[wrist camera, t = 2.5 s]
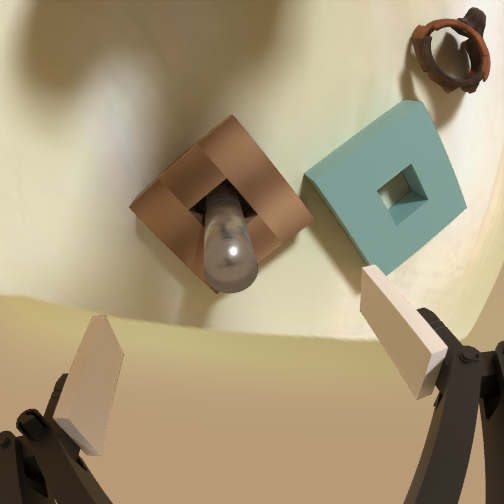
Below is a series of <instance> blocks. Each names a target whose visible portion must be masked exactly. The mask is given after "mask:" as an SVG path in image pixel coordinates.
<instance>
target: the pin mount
mask: <svg viewBox="0 0 504 504" xmlns="http://www.w3.org/2000/svg"><path fill="white" fill-rule="evenodd" d="M226 178H227V179H228V180H229V181H230V182H231V183H232V184H233V186H234V187H235V188H236V189H237V190H238V191H239V193H240V194H241V195H242V196H243V197H244V198H245V200H246V201H247V202H248V203H249V204H250V206H249V207H248V208H247V209H245V210H244V211H243V216H244V219H245V222H246V226H247V229H248V233H249V236H250V239H251V243H252V246H253V250H254V253H255V257H256V260H257V263H258V262H260V261H261V260H262V259H264V258H265V257H266V256H268V255H269V254H270V253H272V252H273V251H274V250H276V249H277V248H278V247H280V246H281V245H282V244H284V243H285V242H286V241H288V240H289V239H290V238H291V237H293V236H294V235H295V234H297V233H298V232H299V231H301V230H302V229H303V228H305V227H306V226H307V225H309V224H310V223H311V222H312V221H314V220H315V219H314V217H313V216H312V214H311V213H310V212H309V210H308V209H307V208H306V206H305V205H304V204H303V202H302V201H301V200H300V198H299V197H298V196H297V194H296V193H295V192H294V191H293V189H292V188H291V187H290V185H289V184H288V183H287V181H286V180H285V179H284V178H283V176H282V175H281V174H280V172H279V171H278V170H277V169H276V167H275V166H274V165H273V163H272V162H271V161H270V160H269V158H268V157H267V156H266V155H265V153H264V152H263V151H262V150H261V148H260V147H259V146H258V145H257V143H256V142H255V141H254V140H253V139H252V137H251V136H250V135H249V134H248V132H247V131H246V130H245V129H244V128H243V126H242V125H241V124H240V123H239V122H238V120H237V119H236V118H235V117H234V116H233V115H230V116H229V117H228V118H226V119H225V120H224V121H222V122H221V123H220V124H219V125H217V126H216V127H215V128H214V129H213V130H211V131H210V132H209V133H208V134H206V135H205V136H204V137H203V138H202V139H200V140H199V141H198V142H197V143H196V144H194V145H193V146H192V147H191V148H190V149H189V150H187V151H186V152H185V153H184V154H183V155H182V156H181V157H179V158H178V159H177V160H176V161H175V162H174V163H173V164H171V165H170V166H169V167H168V168H167V169H166V170H165V171H164V172H163V173H161V174H160V175H159V176H158V177H157V178H156V179H155V180H154V181H153V182H152V183H151V184H150V185H148V186H147V187H146V188H145V189H144V190H143V191H142V192H141V193H140V194H139V195H138V196H137V197H136V198H135V200H134V201H133V203H132V204H131V205H130V207H129V208H130V209H131V210H132V211H133V212H134V213H135V214H136V215H137V216H138V217H139V218H140V219H141V220H142V221H143V222H144V223H145V224H146V225H147V226H148V227H149V228H150V229H151V230H152V231H153V232H154V233H155V234H156V235H157V236H158V237H159V238H160V239H161V240H162V241H163V242H164V243H165V244H166V245H167V246H168V247H169V248H170V249H171V250H172V251H173V252H174V253H175V254H176V255H177V256H178V257H179V258H180V259H181V260H182V261H183V262H184V263H185V264H186V265H187V266H188V267H189V268H190V269H191V270H192V271H193V272H194V273H195V274H196V275H197V276H198V277H199V278H200V279H202V280H203V281H204V282H205V283H206V284H207V285H208V286H209V287H210V288H211V289H212V290H213V291H214V292H215V293H216V294H217V293H219V292H220V291H218V290H216V289H214V288H213V287H211V286H210V285H209V283H208V282H207V280H206V278H205V276H204V238H205V214H204V213H203V212H202V211H201V210H200V209H199V208H198V207H197V205H196V203H197V202H199V201H200V200H201V199H202V198H203V197H204V196H206V195H207V194H208V193H209V192H210V191H212V190H213V189H214V188H215V187H217V186H218V185H219V184H220V183H221V182H223V181H224V180H225V179H226Z"/></svg>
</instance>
